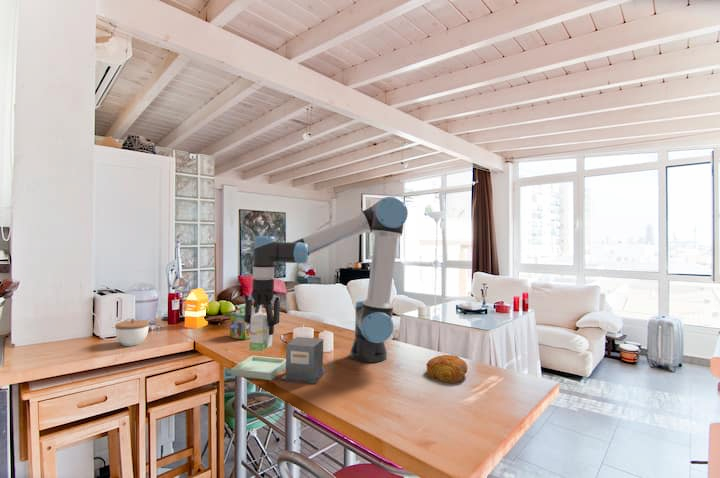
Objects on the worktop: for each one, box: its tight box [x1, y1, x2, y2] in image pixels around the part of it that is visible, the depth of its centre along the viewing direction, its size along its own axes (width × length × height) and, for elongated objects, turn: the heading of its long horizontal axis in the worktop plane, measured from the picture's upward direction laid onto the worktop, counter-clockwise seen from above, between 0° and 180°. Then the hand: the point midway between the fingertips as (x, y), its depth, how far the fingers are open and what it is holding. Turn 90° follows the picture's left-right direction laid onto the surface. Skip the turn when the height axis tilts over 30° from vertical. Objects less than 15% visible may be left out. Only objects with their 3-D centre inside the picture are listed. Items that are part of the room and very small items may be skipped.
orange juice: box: [184, 287, 209, 329], centre depth 193 cm, size 8×9×20 cm
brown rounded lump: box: [426, 354, 468, 384], centre depth 130 cm, size 14×16×8 cm
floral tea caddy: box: [229, 305, 250, 341], centre depth 174 cm, size 9×9×15 cm
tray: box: [230, 355, 286, 381], centre depth 130 cm, size 15×15×2 cm
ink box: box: [249, 304, 273, 352], centre depth 130 cm, size 9×5×15 cm, turn 168°
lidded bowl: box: [114, 318, 150, 347], centre depth 158 cm, size 13×13×11 cm
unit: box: [281, 336, 327, 385], centre depth 125 cm, size 12×12×12 cm
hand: (261, 342), depth 130 cm, fingers closed on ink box, 5 cm apart
